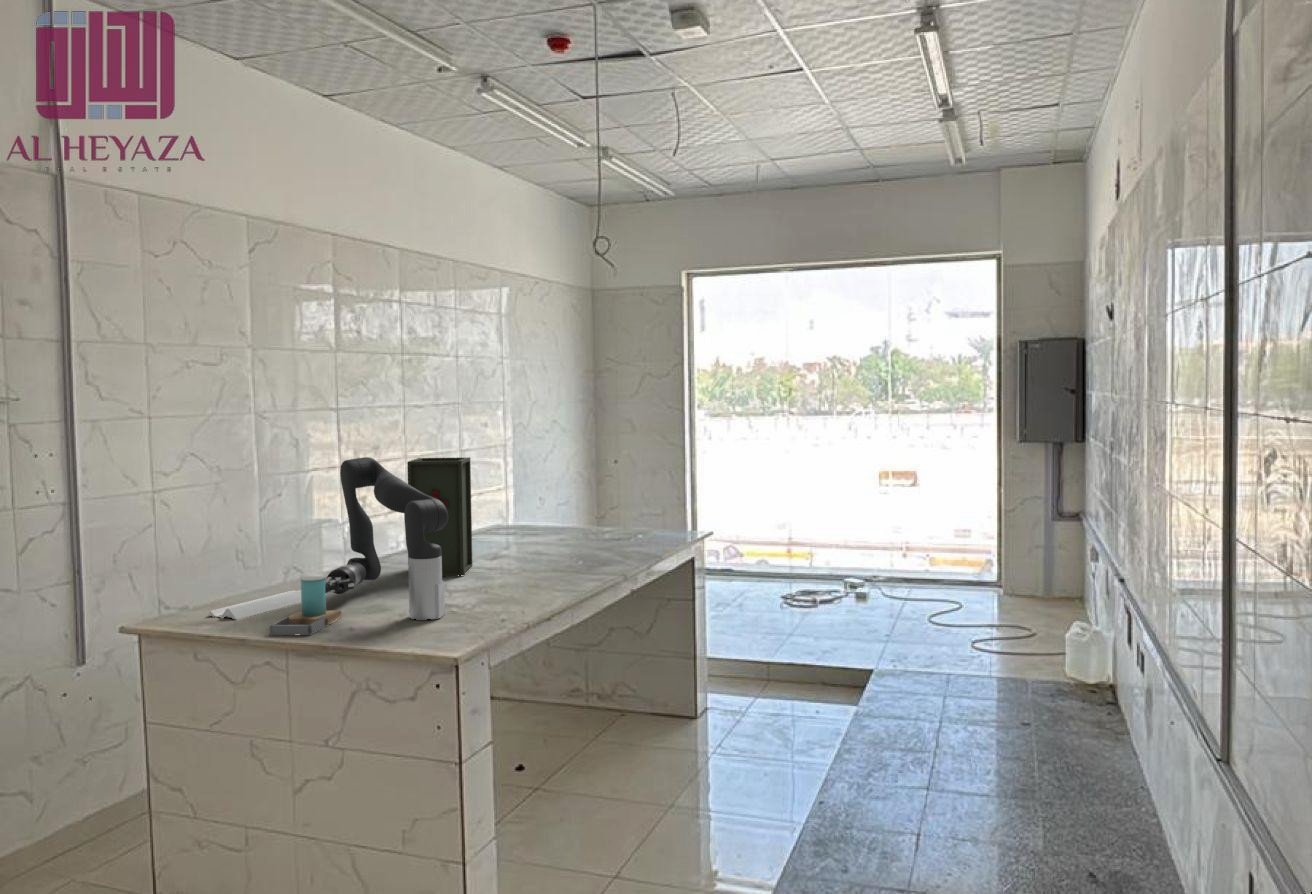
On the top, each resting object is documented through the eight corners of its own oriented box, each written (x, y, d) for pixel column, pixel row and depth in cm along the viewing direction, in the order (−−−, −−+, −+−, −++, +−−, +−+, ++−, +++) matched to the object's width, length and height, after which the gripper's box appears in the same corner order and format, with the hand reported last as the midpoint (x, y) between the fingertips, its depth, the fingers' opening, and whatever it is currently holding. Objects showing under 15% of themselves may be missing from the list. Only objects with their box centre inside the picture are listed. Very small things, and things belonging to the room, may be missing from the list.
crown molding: (292, 597, 299) (291, 585, 299) (320, 600, 294) (320, 589, 294) (208, 618, 271) (207, 605, 271) (238, 622, 266) (237, 610, 266)
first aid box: (472, 566, 346) (470, 457, 344) (463, 576, 328) (461, 461, 325) (421, 567, 346) (419, 457, 343) (410, 577, 327) (407, 461, 325)
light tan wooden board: (341, 617, 268) (341, 610, 268) (327, 626, 258) (327, 619, 258) (299, 617, 269) (299, 610, 269) (284, 626, 259) (284, 618, 259)
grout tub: (330, 611, 268) (329, 572, 267) (321, 616, 261) (320, 577, 260) (307, 611, 268) (305, 572, 267) (296, 616, 261) (295, 577, 261)
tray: (325, 626, 258) (325, 616, 258) (311, 635, 248) (310, 625, 248) (286, 626, 259) (286, 616, 259) (269, 635, 249) (269, 625, 249)
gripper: (322, 566, 286) (297, 577, 269) (365, 566, 286) (343, 577, 268) (322, 591, 287) (298, 603, 269) (365, 591, 286) (344, 603, 269)
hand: (321, 590), depth 269 cm, fingers closed
